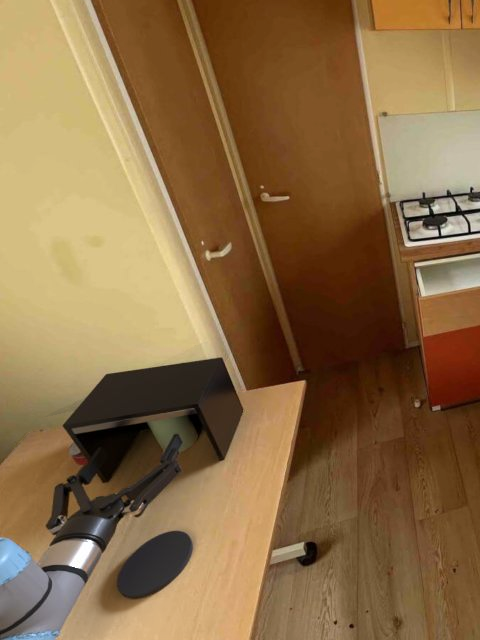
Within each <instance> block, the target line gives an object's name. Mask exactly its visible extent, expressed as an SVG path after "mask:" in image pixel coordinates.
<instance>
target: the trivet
mask: <svg viewBox="0 0 480 640" xmlns="http://www.w3.org/2000/svg"><path fill="white" fill-rule="evenodd" d="M193 543H194V542H193V540H192V539H191V537H190V535H189V534H188V533H186V532H185V531H182V530H171V531H167V532H166V531H165V532H163V533H159V534H158V535H156V536H154V537H152V538H151V539H149V540H147V541H145V542H144V543H143V544H141V545H140V546H139V547H138V548H136V550H134V552H133V553H132V554H131V555H130V556H129V557H128V558H127V559H126V561H125V562H124V563H123V565H122V567H121V569H120V571H119V573H118V576H117V581H116V587H117V590H118V592H119V593H120V594H121V595H122V596H123V597H124V598H126V599H128V600H129V599H130V600H139V599H144V598H148V597H150V596H152V595H154V594H156V593H159V592H160V591H162V590H163V589H164V588H166V587H167V586H169V585H170V584H171V583H172V582H173V581H174V580H175V579H176V578H178V577H179V575H180V574H181V573H182V572H183V571H184V569H185V568H186V567H187V565H188V563H189V561H190V559H191V558H192V554H193V550H194V544H193Z"/></svg>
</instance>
